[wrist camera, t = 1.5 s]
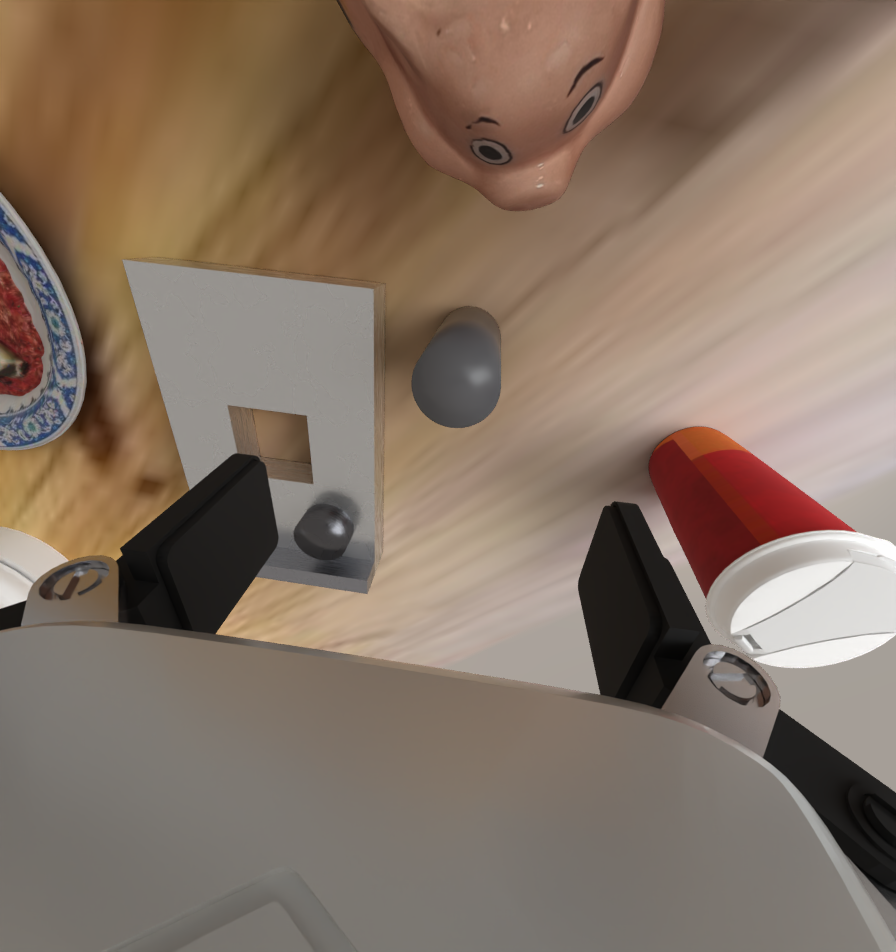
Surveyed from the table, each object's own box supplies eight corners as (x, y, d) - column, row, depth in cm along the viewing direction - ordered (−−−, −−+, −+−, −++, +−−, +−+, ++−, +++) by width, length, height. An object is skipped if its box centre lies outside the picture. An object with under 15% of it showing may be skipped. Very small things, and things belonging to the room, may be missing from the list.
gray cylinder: (440, 302, 27) (413, 335, 19) (505, 310, 27) (507, 347, 19) (435, 367, 30) (409, 422, 21) (495, 374, 30) (493, 433, 21)
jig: (156, 256, 28) (89, 262, 23) (385, 283, 27) (361, 294, 23) (225, 528, 41) (190, 566, 36) (382, 551, 40) (367, 593, 35)
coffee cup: (665, 521, 34) (763, 693, 22) (611, 455, 32) (685, 606, 19) (771, 466, 31) (961, 633, 18) (719, 387, 28) (899, 517, 15)
